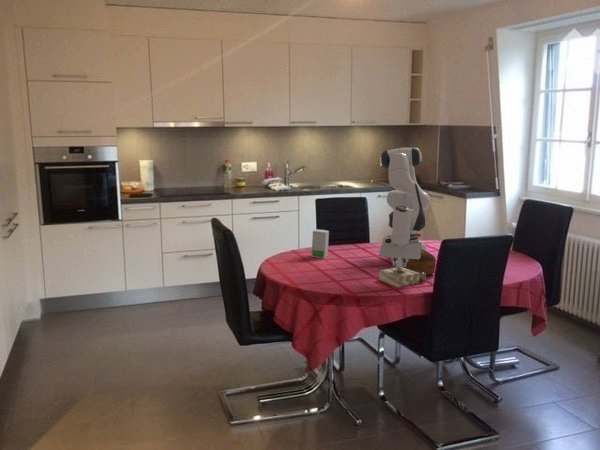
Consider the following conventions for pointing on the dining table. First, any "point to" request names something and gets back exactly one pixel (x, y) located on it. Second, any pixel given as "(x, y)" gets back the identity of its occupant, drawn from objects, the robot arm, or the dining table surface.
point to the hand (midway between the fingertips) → (399, 266)
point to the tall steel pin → (399, 265)
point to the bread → (421, 263)
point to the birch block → (398, 277)
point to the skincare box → (320, 243)
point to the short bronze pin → (422, 277)
